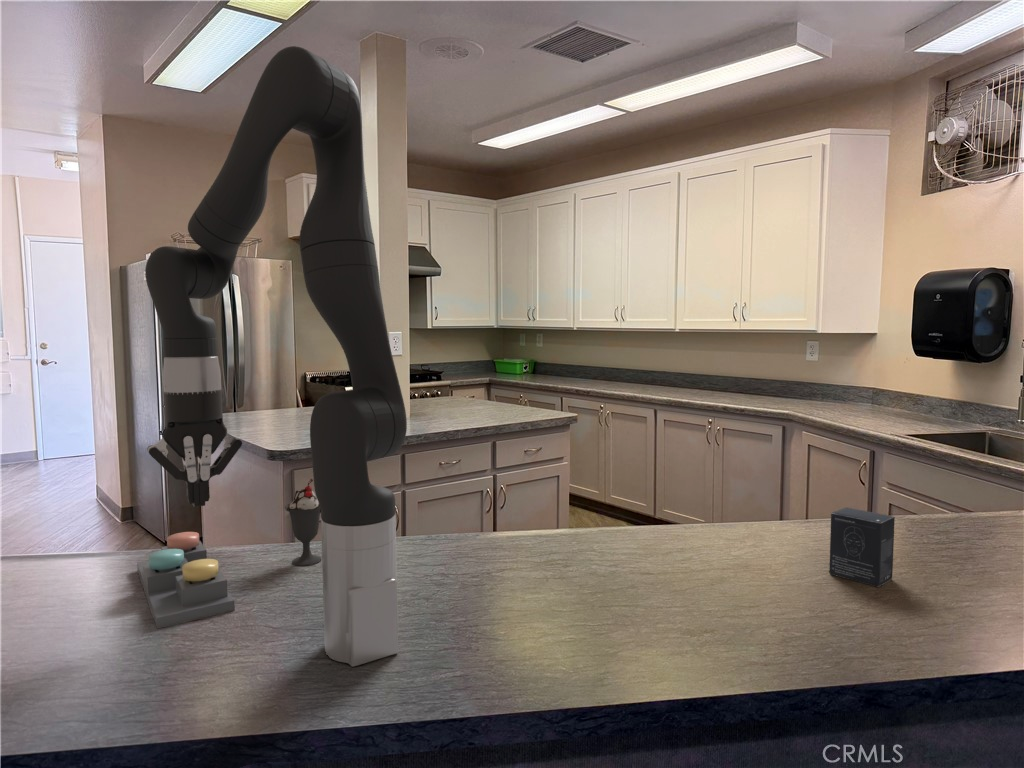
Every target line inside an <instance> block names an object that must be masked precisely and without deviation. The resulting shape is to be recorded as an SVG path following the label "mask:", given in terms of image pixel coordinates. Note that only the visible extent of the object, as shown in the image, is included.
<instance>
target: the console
mask: <svg viewBox="0 0 1024 768" xmlns="http://www.w3.org/2000/svg"><path fill="white" fill-rule="evenodd" d="M160 548H161V549H160V550H165V549H168V548H167V545H166V546H161V547H160ZM207 555H208V554H207V549H206V548H205V545H204V544H203V542H202V541H201V540H199V545H198V546H196V547H194V548H192V550H190V551H185V552H184V563H183V564H181V565H180V566H177V567H176V569H174V570H168V571H163V572H158V570H155V569H151V568H149V559H148V560H143V561H138V562H136V567H137V573H138V576H139V579H140V582H141V585H142V587H143V592H144V593H145V596H146V600H147V603H148V605H149V609H150V611H151V615H152V617H153V621H154V623H155V626H156V629H161V628H165V627H169V626H170V627H171V626H174V625H177V624H182V623H186V622H190V621H194V620H195V621H196V620H199V619H204V618H208V617H212V616H216V615H221V614H224V613H229V612H233V611H235V609H236V608H235V606H236V605H235V599H234V598H233V596H232V594H231V593H230V592H229V590H228V579H227V578H226V576H225V575H224V573H223V572H222V570H221V569H220V568H219V567H218V570H219V573H218V575H216V576H215V577H213V578H210V581H205V582H200V583H195V584H192V581H186V580H184V579H183V572H182V566H183V565H184V564H186V563H188V562H191V561H195V560H200V559H208V556H207Z"/></svg>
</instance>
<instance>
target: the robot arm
mask: <svg viewBox="0 0 1024 768" xmlns="http://www.w3.org/2000/svg"><path fill="white" fill-rule="evenodd" d="M354 81H355V80H353V78H352V77H351V76H350V75H349V74H348V73H347V72H346V71H344V70H343V69H342V68H341V67H338V66H337V65H335V64H333V63H331V62H330V61H328V60H327V59H325V58H323V57H322V56H319V55H317V54H315V53H314V52H312V51H310V50H309V49H307V48H306V49H305V48H304V47H300V46H295V45H294V46H286V47H285V48H282V49H281V50H278V52H276V53H275V55H274V56H272V58H271V59H270V60H269V62H268V63H267V65H266V66H265V68H264V70H263V72H262V74H261V76H260V78H259V80H258V82H257V84H256V86H255V88H254V91H253V94H252V96H251V98H250V100H249V103H248V105H247V109H246V110H245V113H244V115H243V117H242V120H241V122H240V124H239V127H238V130H237V131H236V134H235V137H234V139H233V142H232V144H231V147H230V150H229V151H228V155H227V157H226V159H225V161H224V163H223V165H222V167H221V169H220V171H219V173H218V174H217V176H216V178H215V180H214V181H213V183H212V184H211V186H210V187H209V189H208V191H207V192H206V194H205V195H204V197H203V198H202V199H201V201H200V203H199V204H198V206H197V207H196V208H195V210H194V212H193V213H192V215H191V217H190V218H189V220H188V224H187V231H188V234H189V237H190V238H191V239H192V241H194V242H195V244H196V245H198V246H199V248H197V249H192V248H186V247H178V246H169V245H168V246H167V245H166V246H159V247H157V248H156V249H155V250H153V251H151V253H150V255H149V256H148V258H147V261H146V265H145V276H144V277H145V280H146V286H147V289H148V292H149V294H150V296H151V297H150V298H151V300H152V302H153V305H154V308H155V312H156V315H157V317H158V320H159V324H160V326H161V329H162V344H163V345H162V346H163V347H162V348H163V349H162V350H163V357H164V358H163V366H162V367H163V369H162V388H163V399H164V417H165V418H164V420H165V425H164V426H165V427H164V429H163V430H162V434H161V437H162V438H161V439H159V440H158V441H157V442H155V443H154V444H153V445H148V446H147V448H146V451H147V453H148V454H149V455H150V456H151V458H153V459H154V460H155V461H156V463H158V465H160V466H161V467H162V468H163V469H164V470H165V471H166V472H168V473H169V474H170V475H171V476H172V477H173V478H174V479H175V480H178V481H180V480H181V481H185V484H186V485H185V488H186V500H187V501H188V503H189V504H191V505H192V506H193V508H197V507H198V508H199V507H204V506H206V502H209V500H210V498H211V497H210V479H211V478H213V477H215V476H219V475H221V474H222V473H223V472H224V470H226V468H227V466H228V465H229V464H230V462H231V461H232V459H233V458H234V456H235V455H236V454H237V452H238V451H239V450H240V448H241V447H242V445H243V441H242V440H241V439H239V438H238V437H235V436H233V435H231V434H229V433H228V429H227V427H226V424H225V423H224V417H223V416H224V415H223V414H224V413H223V394H222V378H221V376H222V375H221V373H222V372H221V367H220V362H219V361H220V360H219V352H218V351H219V349H218V347H219V346H218V334H217V333H218V332H217V331H218V330H217V325H216V322H215V321H214V319H213V318H211V317H209V316H206V315H204V314H201V313H200V314H199V313H197V312H196V311H195V309H194V307H193V305H192V302H191V299H198V300H206V299H207V300H208V299H211V298H213V297H215V296H217V295H219V294H220V293H221V292H222V291H223V290H224V289H225V287H226V286H227V285H228V283H229V281H230V277H231V273H232V270H233V267H234V264H235V262H236V257H237V255H238V251H239V248H240V246H241V245H242V244H243V242H244V241H245V240H246V238H247V236H248V235H249V234H250V232H251V231H252V229H253V228H254V227H255V226H256V224H257V223H258V221H259V219H260V218H261V216H262V213H263V211H264V210H265V206H266V201H267V197H268V196H267V195H268V184H269V182H268V181H269V180H268V178H269V170H270V166H271V165H270V164H271V160H272V157H273V155H274V153H275V151H276V150H277V147H278V146H279V144H280V143H281V142H282V140H283V139H284V138H285V137H286V135H287V134H288V133H289V132H290V131H292V130H295V131H299V132H300V133H303V134H305V135H308V136H309V138H310V141H311V144H312V149H313V154H314V160H315V169H316V181H315V182H316V183H315V189H314V192H313V194H312V198H311V199H310V202H309V205H308V208H307V209H306V212H305V215H304V217H303V221H302V222H301V227H300V232H299V251H300V258H301V265H302V271H303V277H304V278H303V279H304V283H305V288H306V291H307V294H308V296H309V299H310V301H311V302H312V303H313V307H314V308H315V309H316V310H317V313H318V314H319V315H320V316H321V318H322V319H323V320H324V322H325V323H326V325H327V327H328V328H329V329H330V330H331V332H332V334H333V336H335V338H336V339H337V341H338V343H339V344H340V346H341V349H342V351H343V353H344V356H345V359H346V361H347V365H348V370H349V374H350V379H351V386H352V388H351V389H350V390H341V391H340V390H339V391H333V392H329V393H326V394H324V395H322V396H321V397H319V399H318V400H317V401H316V402H315V404H314V406H313V409H312V413H311V416H310V423H309V439H310V440H309V441H310V442H309V443H310V452H311V463H312V473H313V475H312V476H313V486H314V491H315V492H314V493H315V496H316V499H317V500H318V502H319V505H320V509H321V513H320V522H321V523H320V526H321V565H322V571H321V572H322V594H323V595H322V599H323V600H322V601H323V602H322V605H323V606H322V607H323V630H324V631H323V633H324V636H323V637H324V653H325V652H326V653H325V654H326V656H327V655H328V656H329V657H328V656H327V657H328V658H329V659H332V660H334V661H336V662H339V663H344V664H345V663H346V664H348V665H349V666H351V667H357V666H360V665H363V664H364V665H365V664H366V663H367V664H368V663H370V662H373V661H376V660H379V659H382V658H386V657H389V656H393V655H396V654H398V653H399V611H398V610H399V609H398V607H399V606H398V605H399V604H398V603H399V602H398V580H397V523H396V521H397V517H396V498H395V497H396V496H395V493H394V492H393V491H392V490H391V489H389V488H387V487H385V486H379V485H374V484H372V483H371V481H370V477H369V469H368V462H371V461H376V460H380V459H383V458H387V457H391V456H393V455H394V454H395V455H396V453H398V452H399V451H400V449H401V448H402V447H403V444H404V442H405V440H406V435H407V431H408V430H407V429H408V426H407V425H408V422H407V421H408V420H407V412H406V407H405V406H406V405H405V401H404V398H403V392H402V390H401V389H402V388H401V385H400V382H399V378H398V373H397V370H396V365H395V361H394V357H393V353H392V349H391V345H390V344H391V343H390V339H389V335H388V334H389V333H388V327H387V321H386V316H385V311H384V304H383V298H382V292H381V283H380V274H379V273H380V272H379V267H378V260H377V252H376V251H377V250H376V244H375V240H374V235H373V234H374V233H373V229H372V222H371V215H370V208H369V199H368V190H367V185H366V174H365V159H364V142H363V141H364V138H363V137H364V136H363V116H362V114H363V113H362V104H361V98H360V93H359V89H358V87H357V85H356V83H355V82H354ZM221 443H222V448H223V449H222V451H221V452H220V454H219V455H218V456H217V458H216V459H215V460H214V462H213V463H212V455H213V454H214V453H215V452H216V450H218V448H219V447H220V445H221ZM167 445H168V446H169V448H170V449H172V451H174V453H175V454H176V455H177V456H178V457H180V458H181V459H182V460H181V461H182V465H183V469H179V468H178V466H176V465H175V464H174V463H173V462H172V461H171V460H170V459H169V458H168V457H167V455H168V454H169V450H168V449H167ZM196 458H197V464H196ZM211 463H212V464H211Z"/></svg>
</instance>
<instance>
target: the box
mask: <svg viewBox="0 0 1024 768" xmlns="http://www.w3.org/2000/svg"><path fill="white" fill-rule="evenodd" d="M895 519H896V518H895V516H893V515H887V514H882V513H877V512H872V511H869V510H868V511H867V510H862V509H856V508H852V507H844V508H841V509H838V510H836V511H832V512H831V514H830V537H829V538H830V539H829V540H830V542H829V570H828V571H829V574H830V575H833V576H836V575H837V577H840V578H843V577H844V579H848V580H851V581H854V582H858V583H863V584H865V585H869V586H873V587H877V588H879V587H881V585H882V586H883V585H885V584H886V583H888V582H890V581H892V579H893V570H894V569H893V566H894V543H895V521H896V520H895Z"/></svg>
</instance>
